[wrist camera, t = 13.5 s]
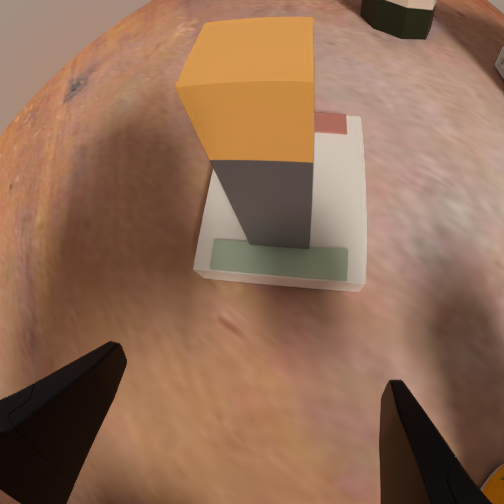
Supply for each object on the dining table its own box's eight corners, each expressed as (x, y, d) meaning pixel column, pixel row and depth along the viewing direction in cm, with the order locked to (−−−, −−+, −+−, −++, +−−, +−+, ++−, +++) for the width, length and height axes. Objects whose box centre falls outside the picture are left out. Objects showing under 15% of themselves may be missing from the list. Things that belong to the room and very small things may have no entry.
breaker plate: (358, 292, 17) (366, 283, 15) (203, 278, 18) (191, 268, 16) (357, 135, 20) (361, 114, 18) (232, 130, 22) (225, 110, 20)
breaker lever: (309, 249, 15) (313, 82, 5) (250, 244, 16) (174, 87, 6) (312, 195, 16) (312, 17, 6) (257, 192, 17) (205, 23, 7)
